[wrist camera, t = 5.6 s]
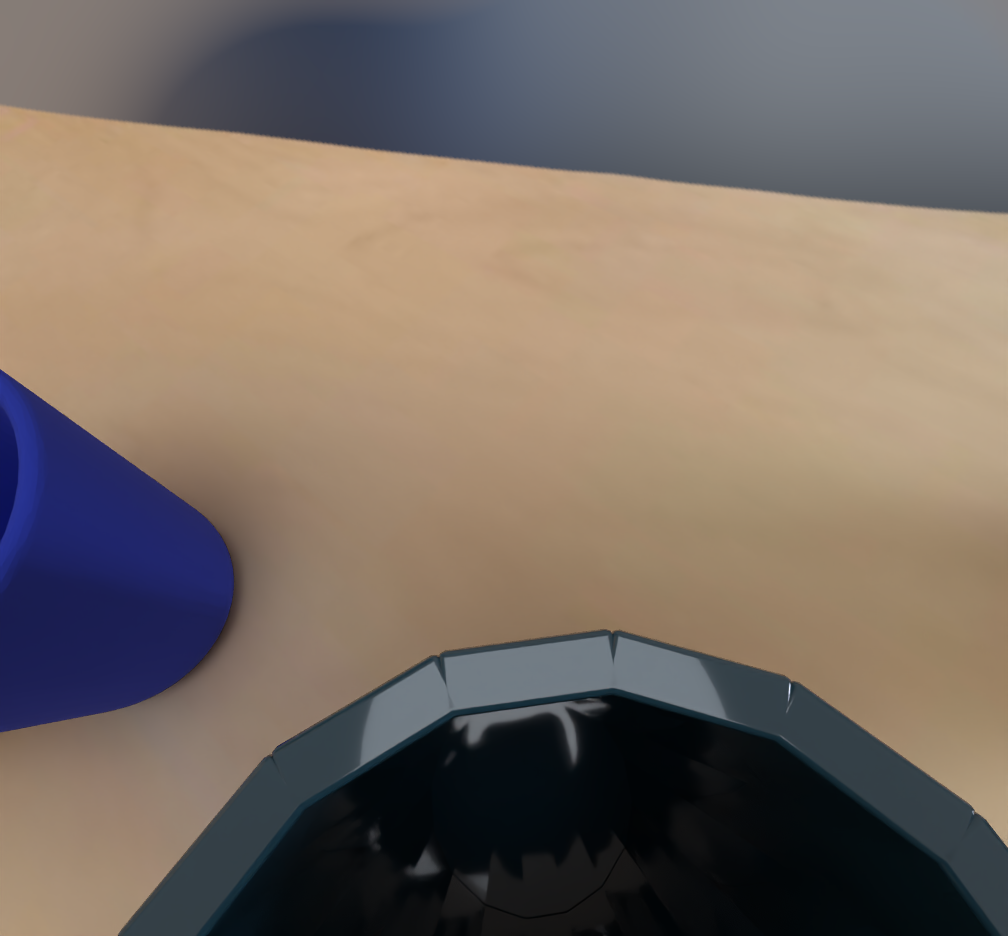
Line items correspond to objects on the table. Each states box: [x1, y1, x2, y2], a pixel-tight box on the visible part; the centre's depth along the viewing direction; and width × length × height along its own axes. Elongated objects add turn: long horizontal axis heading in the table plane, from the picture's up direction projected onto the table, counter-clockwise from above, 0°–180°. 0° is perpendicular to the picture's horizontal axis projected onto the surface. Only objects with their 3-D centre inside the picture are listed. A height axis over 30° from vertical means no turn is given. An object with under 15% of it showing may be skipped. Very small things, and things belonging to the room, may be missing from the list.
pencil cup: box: [118, 629, 1008, 936], centre depth 8 cm, size 6×6×13 cm
